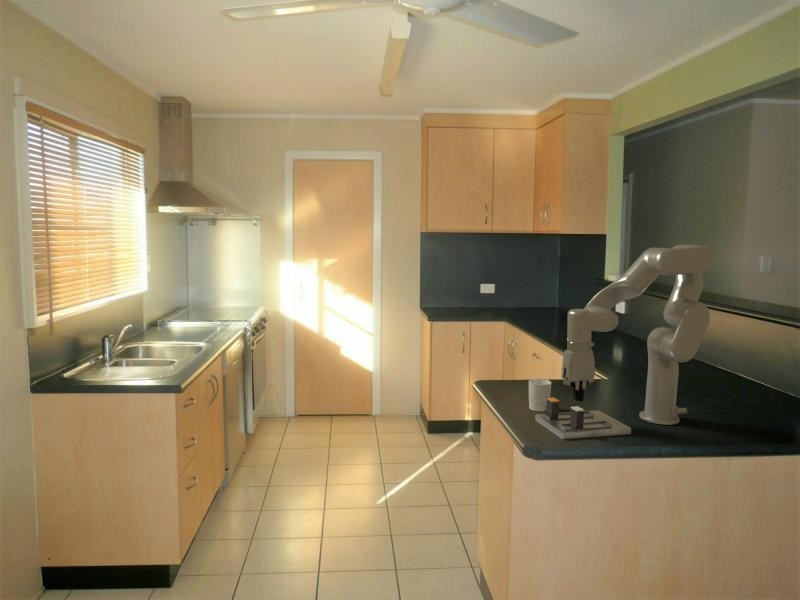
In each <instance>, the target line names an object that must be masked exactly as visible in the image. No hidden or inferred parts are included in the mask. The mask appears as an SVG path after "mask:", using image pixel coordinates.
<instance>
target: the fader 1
mask: <svg viewBox="0 0 800 600" xmlns="http://www.w3.org/2000/svg"><path fill="white" fill-rule="evenodd" d="M559 409H560V400H559V399H557V398H556V397H550V398H547V407H546V411H545V413H546V414H547V415H548V416H550V417H551V419H557V418H558V414H559V413H560V412H559Z"/></svg>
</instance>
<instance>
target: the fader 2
mask: <svg viewBox="0 0 800 600" xmlns="http://www.w3.org/2000/svg"><path fill="white" fill-rule="evenodd" d="M584 411H585V409H584V408H582V407H580V406H577V405H576V406H570V412H571V415H570V425H571V426H572V427H574V428H575V429H580V428H583V422H584Z"/></svg>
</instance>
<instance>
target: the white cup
mask: <svg viewBox="0 0 800 600" xmlns="http://www.w3.org/2000/svg"><path fill="white" fill-rule="evenodd" d="M551 390H552V381H550V380H549V379H543V378H531V379H528V409H529V410H531V411H534V412H541V413H542V412H543V413H545V412H546V407H547V398H551Z"/></svg>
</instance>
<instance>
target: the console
mask: <svg viewBox="0 0 800 600" xmlns="http://www.w3.org/2000/svg"><path fill="white" fill-rule="evenodd" d="M570 415H571V411H569V412H568V411H566V412H559V414H558V418H557V419H551V417H550V416H548V415H547V414H546V412H543V413H542V412H541V413H540V414H539V413H538V414H537V413H536V414H535V415H534V416H535V417H534V418H535V419H534V421H536V422H538V424H540V425H541V426H543V427H544V428H546V429H547V430H548V431H550V432H551V433H553V434H554V435H556V436H557V437H558V438H559V439H561V440H575V439H584V438H585V439H586V438H598V437H599V438H600V437H609V436H611V437H613V436H623V435H624V436H625V435H632V428H631V427H630V426H629V425H627V424H624V423H623V422H621V421H620V420H617V419H615V418H614V417H612V416H610V415H608V414H606V413H604V412H603V411H601V410H588V409H587V410H584V422H583V428H580V429H575V428H574V427H572V426H571V425H570Z"/></svg>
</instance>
